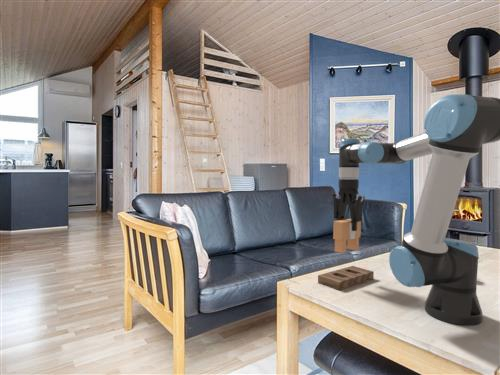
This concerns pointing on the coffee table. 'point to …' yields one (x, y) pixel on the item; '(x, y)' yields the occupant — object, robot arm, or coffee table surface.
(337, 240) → the clip
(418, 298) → the coffee table surface
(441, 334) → the coffee table surface
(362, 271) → the slotted wooden base
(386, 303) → the coffee table surface
